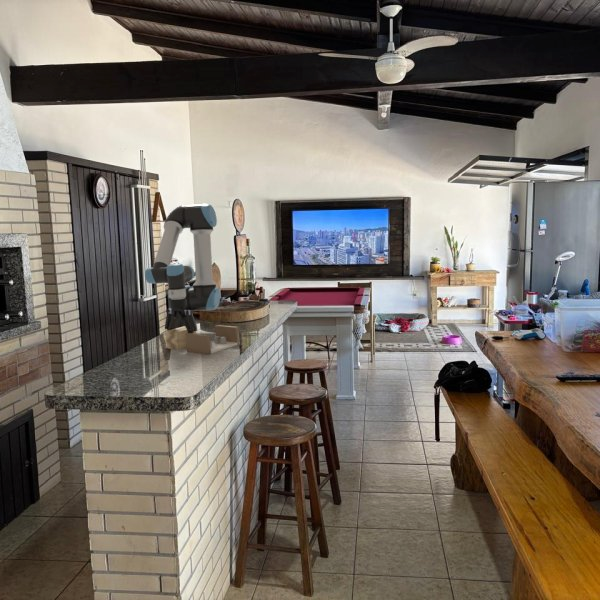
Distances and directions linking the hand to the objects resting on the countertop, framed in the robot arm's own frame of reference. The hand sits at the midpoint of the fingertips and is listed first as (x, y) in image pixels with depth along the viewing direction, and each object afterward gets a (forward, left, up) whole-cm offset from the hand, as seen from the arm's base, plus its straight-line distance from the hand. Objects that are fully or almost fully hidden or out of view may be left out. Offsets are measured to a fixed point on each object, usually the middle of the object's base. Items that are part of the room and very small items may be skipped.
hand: (181, 345), depth 260 cm
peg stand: (+17, +3, 0) cm, 17 cm away
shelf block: (0, 0, 0) cm, 0 cm away
